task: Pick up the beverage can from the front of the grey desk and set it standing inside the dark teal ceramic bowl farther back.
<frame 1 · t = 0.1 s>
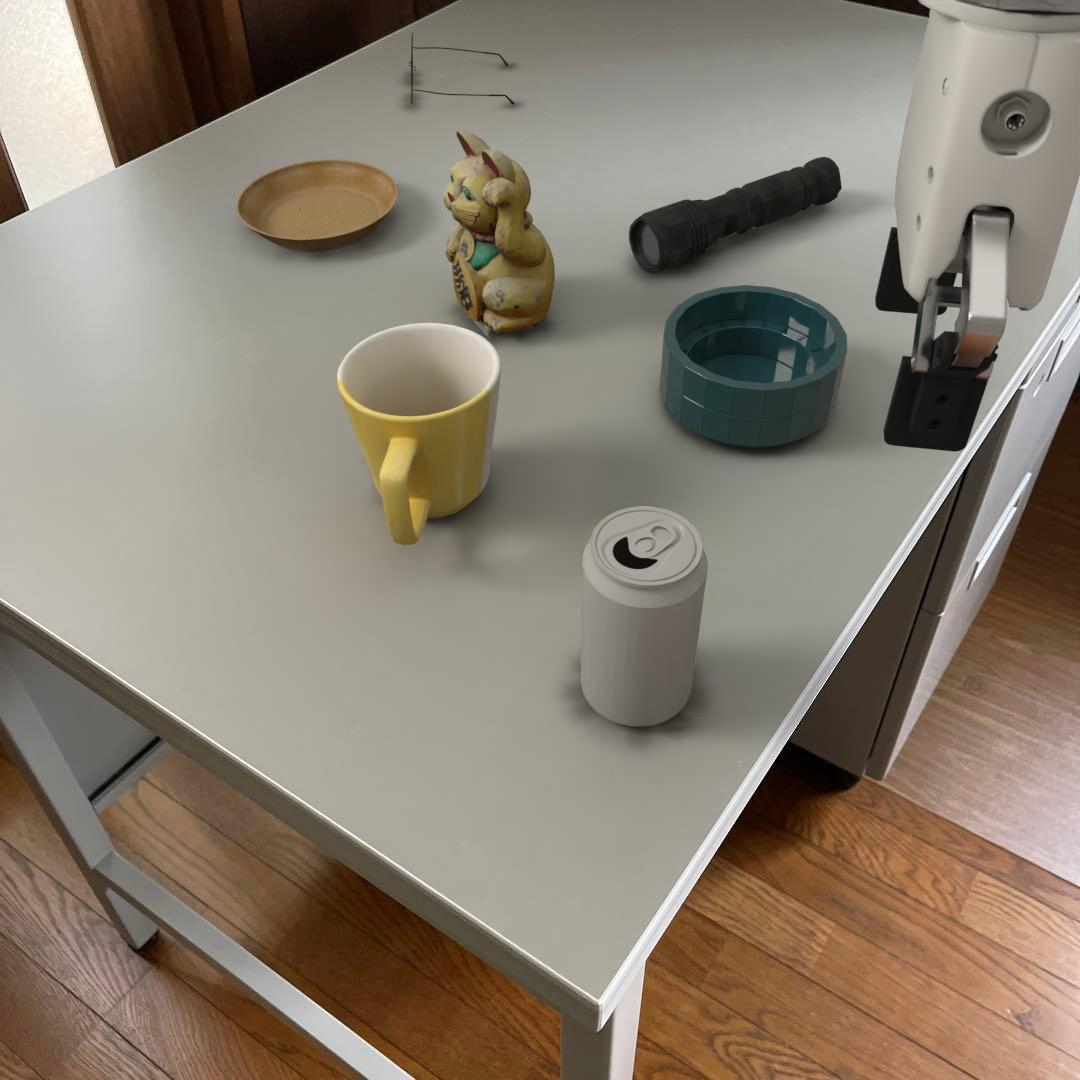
hand: (915, 372, 48), 22 cm above the table, tool pointing down, fingers open, 9 cm apart
plant saucer: (322, 224, 103), on the table
decorative figurine: (507, 314, 92), on the table
eyeglasses: (460, 89, 124), on the table
mug: (423, 508, 75), on the table
beverage can: (635, 690, 64), on the table
bowl: (745, 401, 83), on the table
flashlight: (735, 238, 100), on the table
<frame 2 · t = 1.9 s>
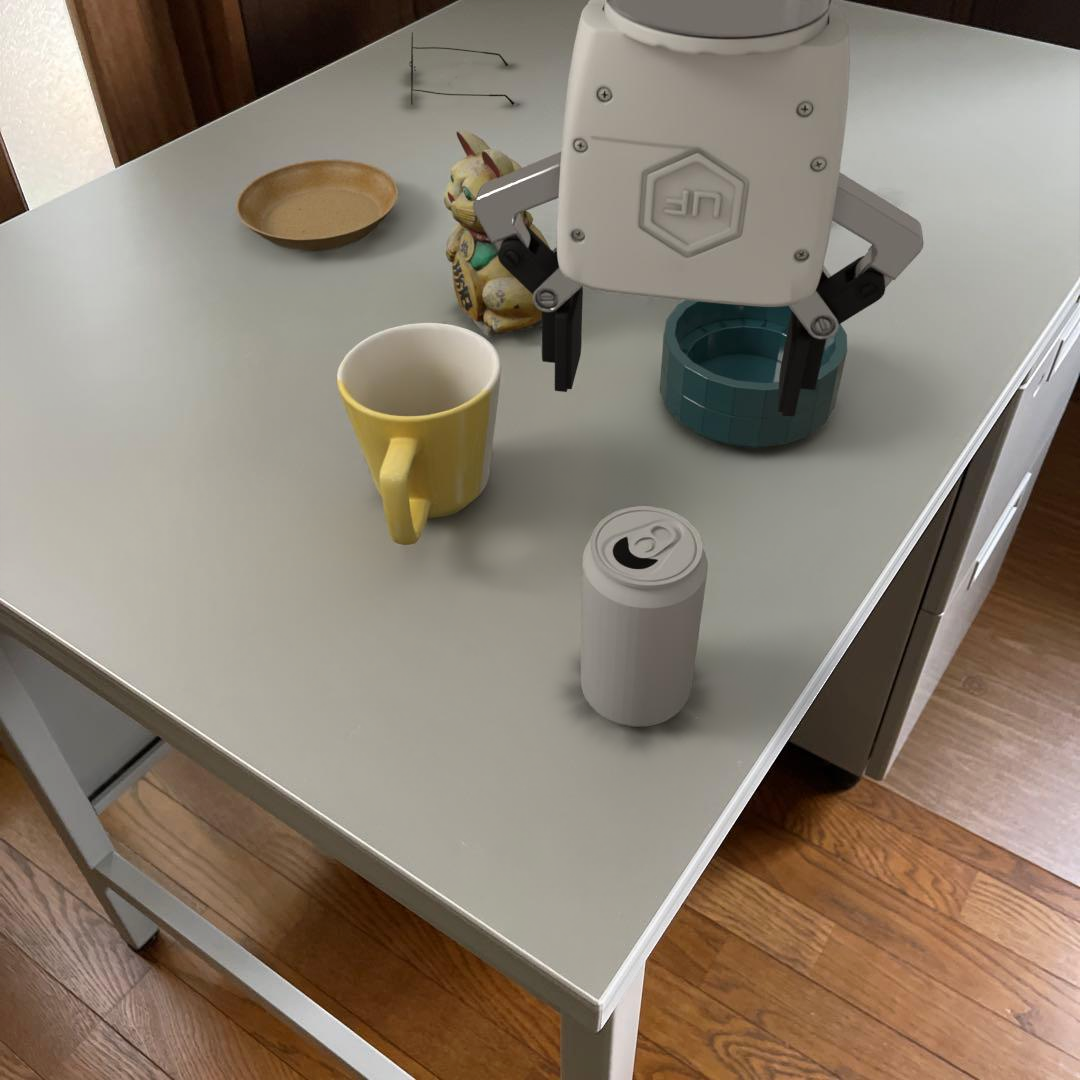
hand: (676, 384, 49), 22 cm above the table, tool pointing down, fingers open, 9 cm apart
nothing on the table moved.
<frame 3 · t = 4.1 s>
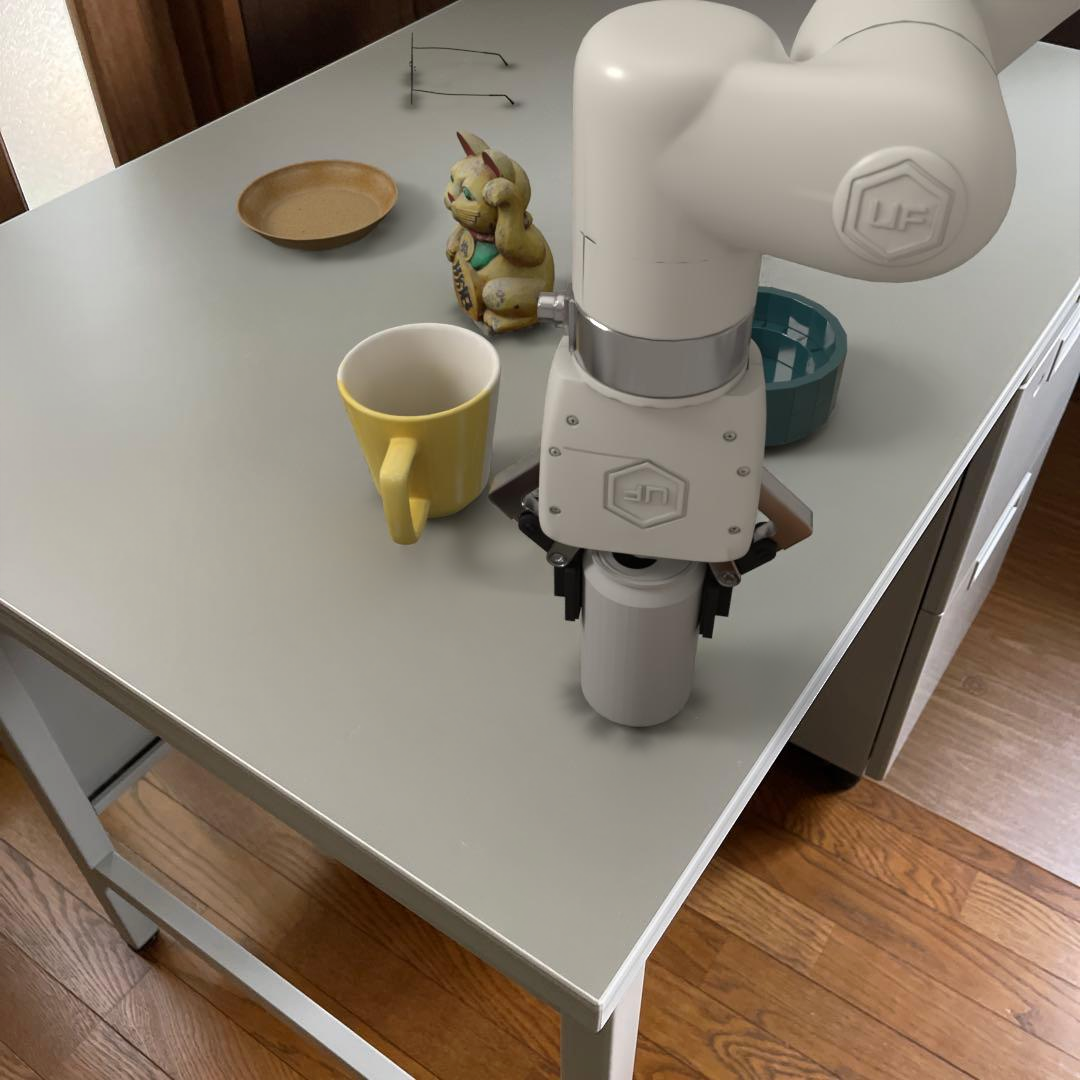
hand: (641, 607, 59), 7 cm above the table, tool pointing down, fingers closed on beverage can, 6 cm apart
beverage can: (635, 690, 64), on the table, touching gripper
everything else where it was.
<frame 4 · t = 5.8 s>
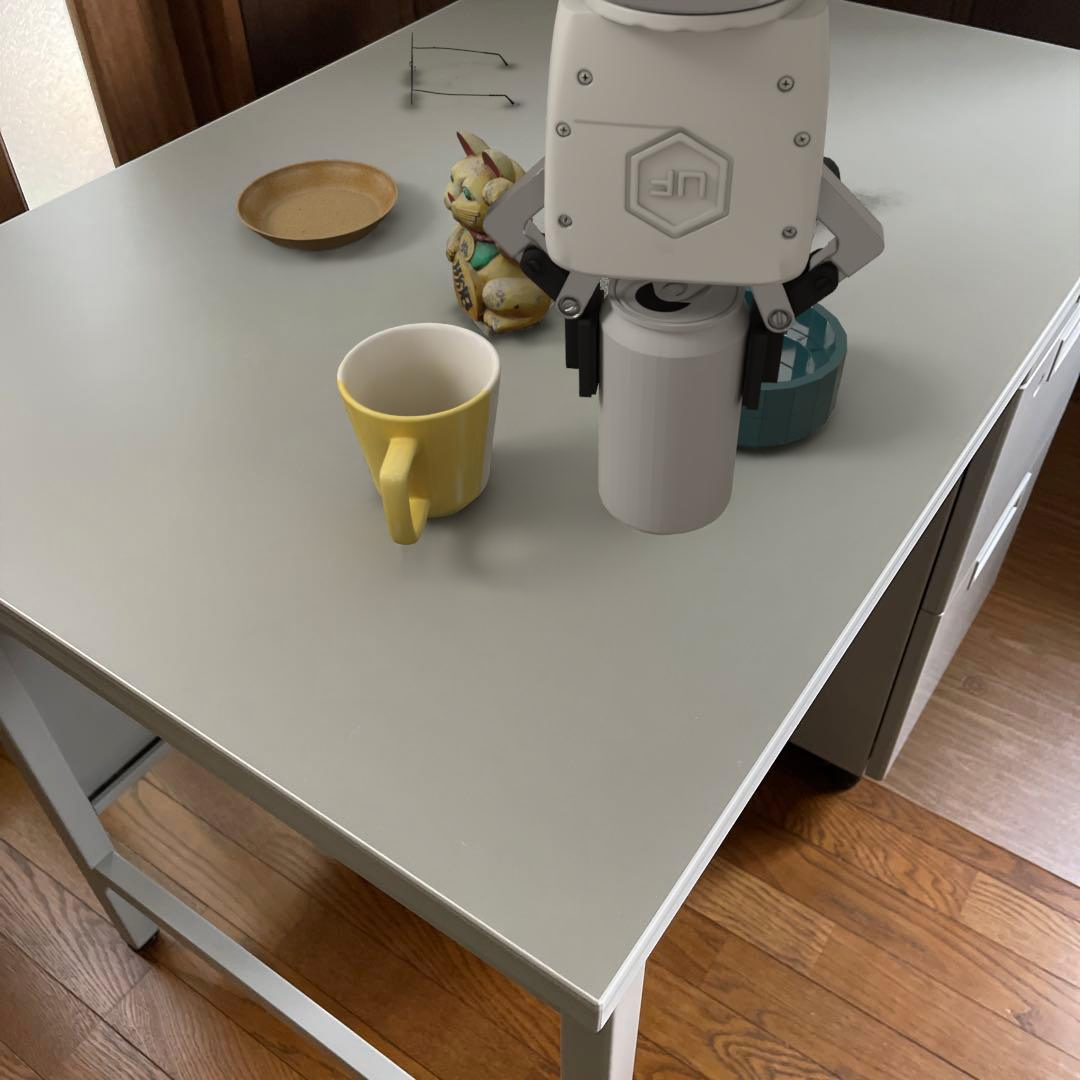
hand: (670, 381, 49), 22 cm above the table, tool pointing down, fingers closed on beverage can, 6 cm apart
beverage can: (664, 502, 54), point 14 cm above the table, touching gripper
everything else where it was.
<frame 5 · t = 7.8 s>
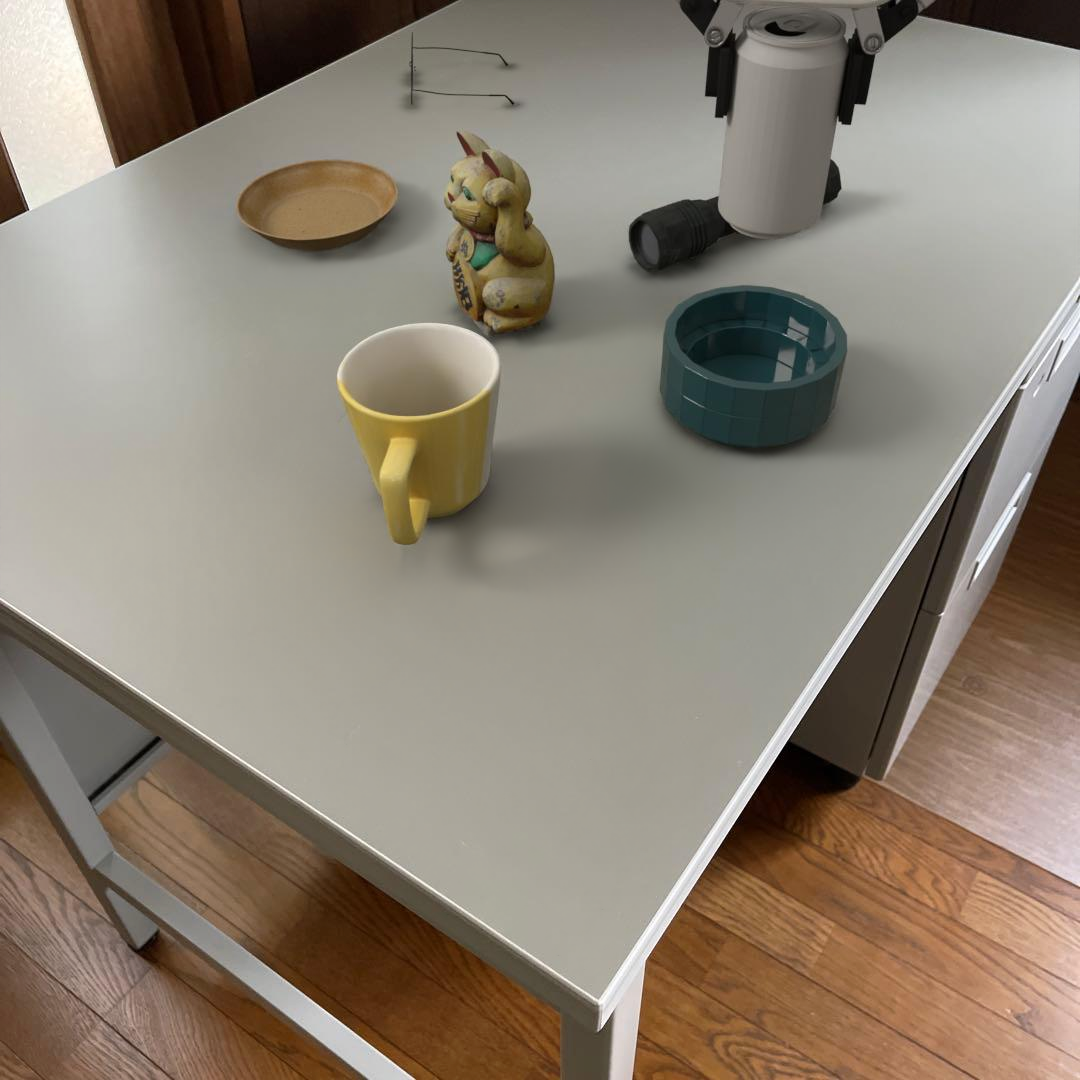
hand: (782, 109, 65), 23 cm above the table, tool pointing down, fingers closed on beverage can, 6 cm apart
beverage can: (767, 222, 70), point 16 cm above the table, touching gripper
everything else where it was.
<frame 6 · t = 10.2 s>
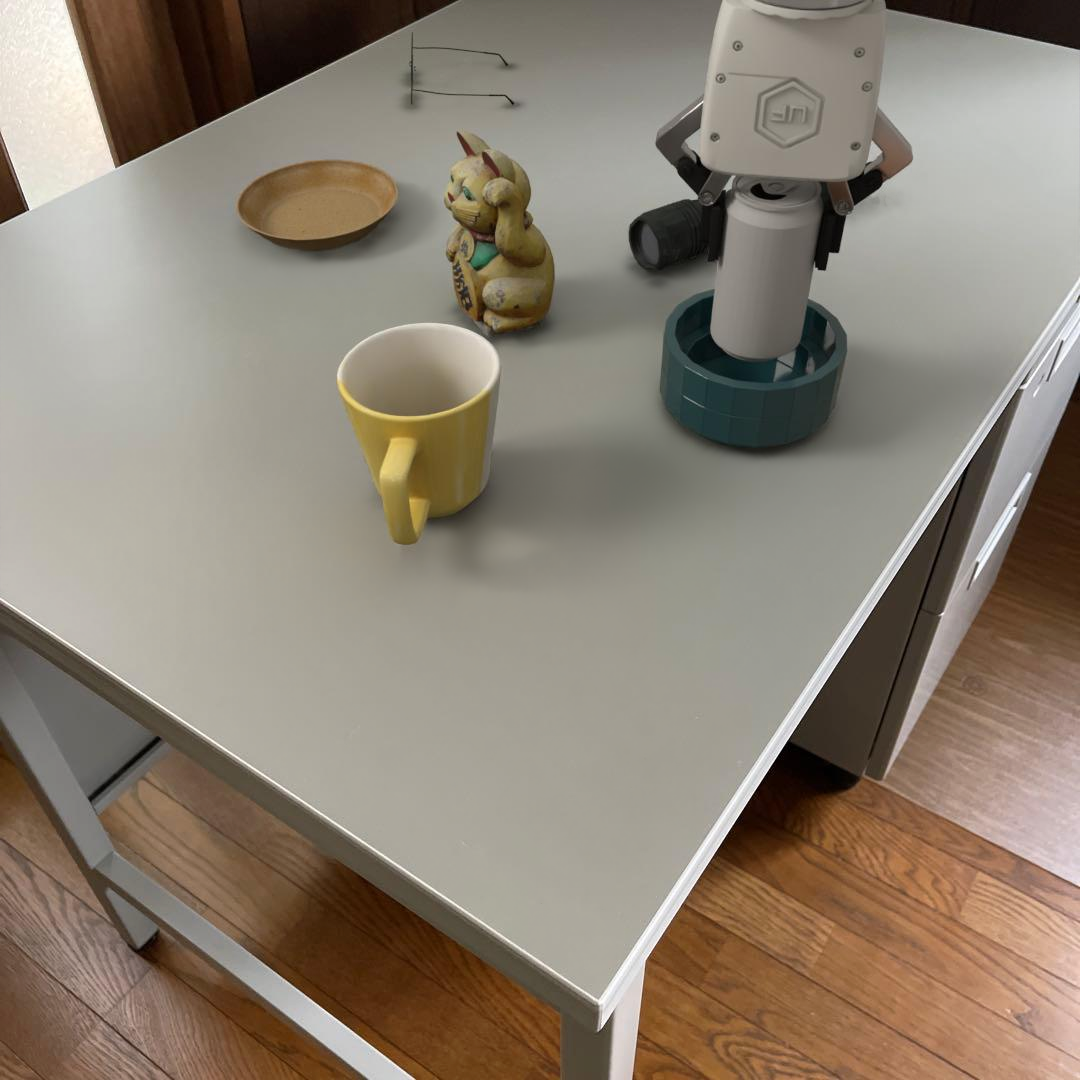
hand: (766, 253, 74), 12 cm above the table, tool pointing down, fingers closed on beverage can, 6 cm apart
beverage can: (754, 343, 79), point 5 cm above the table, touching gripper
everything else where it was.
when the fingers open (8 cm above the table, at t = 11.8 s): beverage can stays where it is, resting on bowl.
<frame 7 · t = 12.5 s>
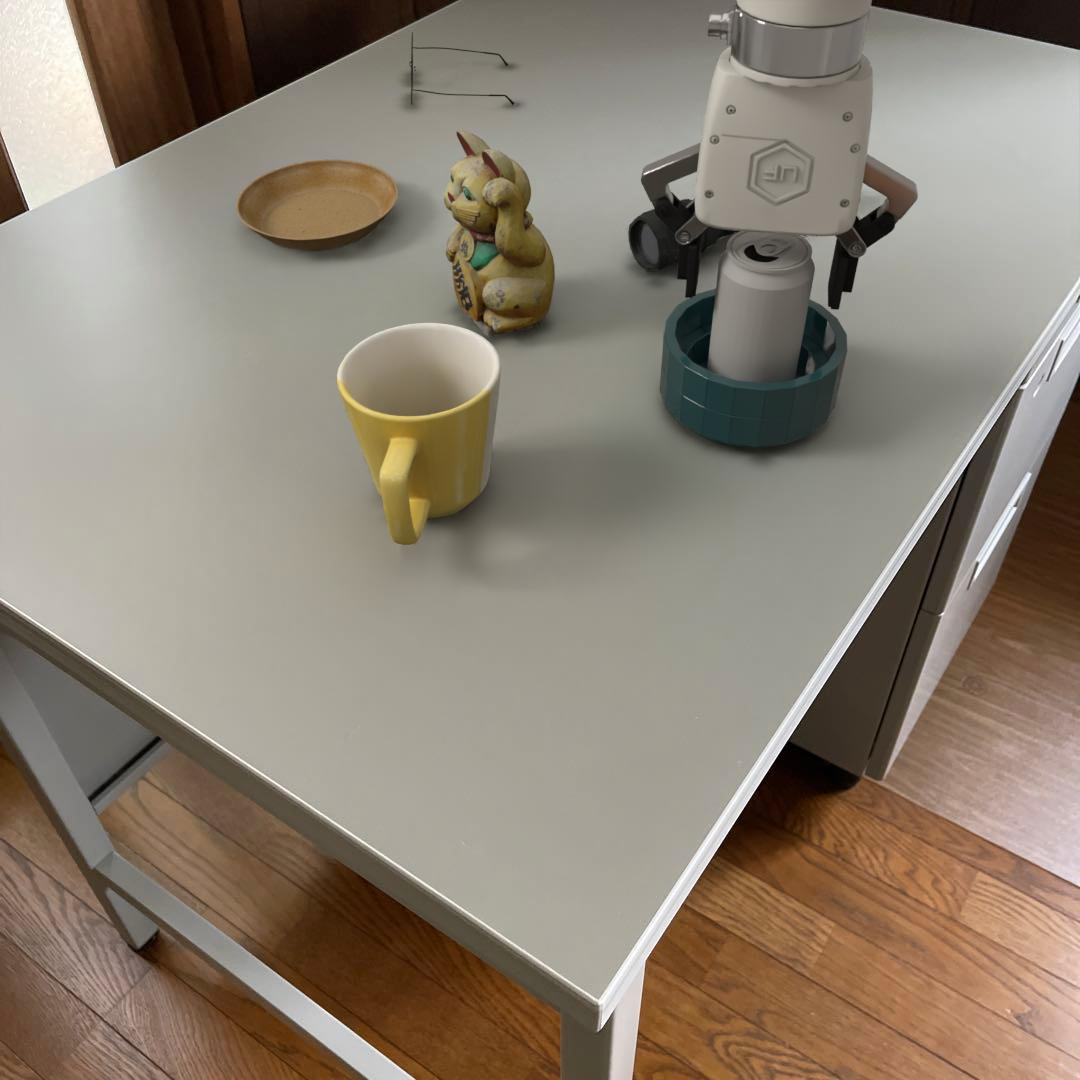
hand: (761, 292, 76), 9 cm above the table, tool pointing down, fingers open, 9 cm apart
beverage can: (748, 393, 82), point 1 cm above the table, touching bowl
everything else where it was.
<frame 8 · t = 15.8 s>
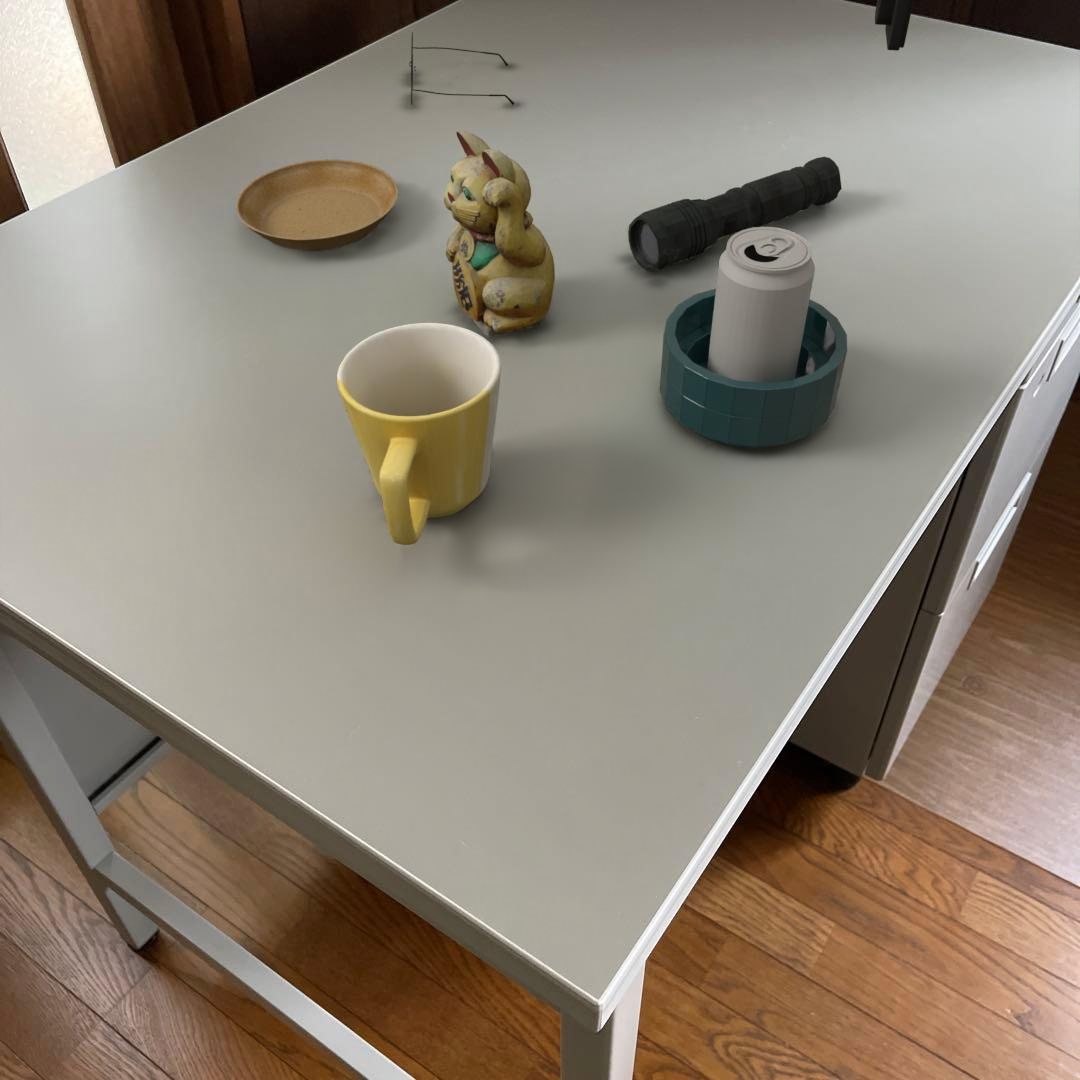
hand: (996, 44, 53), 30 cm above the table, tool pointing down, fingers open, 9 cm apart
nothing on the table moved.
at the end: beverage can 0.1 cm off-centre in the bowl, point 0.8 cm above the bowl's base; beverage can tilted 0° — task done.
